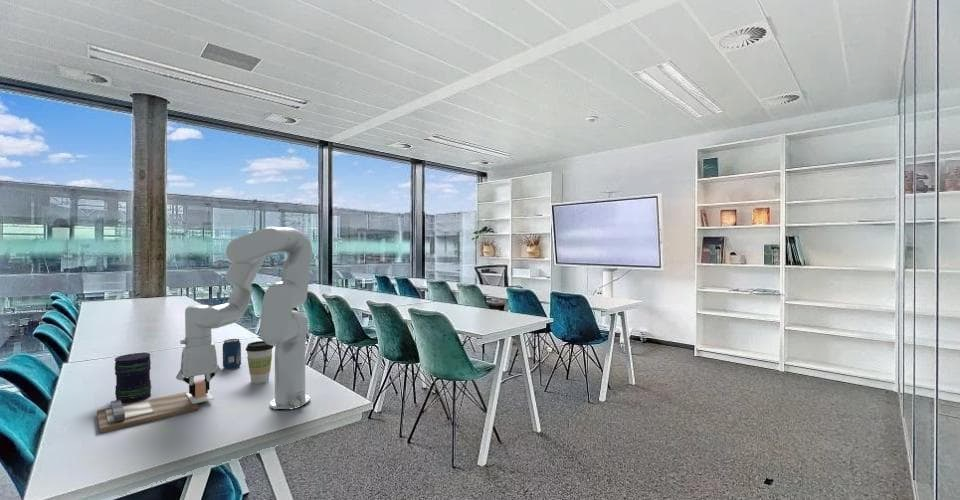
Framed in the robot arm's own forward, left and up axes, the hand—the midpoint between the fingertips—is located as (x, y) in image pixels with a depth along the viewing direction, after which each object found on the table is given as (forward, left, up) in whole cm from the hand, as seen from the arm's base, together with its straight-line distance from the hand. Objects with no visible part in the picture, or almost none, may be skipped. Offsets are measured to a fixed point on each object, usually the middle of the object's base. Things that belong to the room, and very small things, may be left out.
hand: (199, 393), depth 147 cm
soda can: (+36, -19, -3) cm, 41 cm away
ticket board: (0, +14, -3) cm, 14 cm away
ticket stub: (0, 0, -1) cm, 1 cm away
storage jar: (+19, +16, -3) cm, 25 cm away
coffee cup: (+8, -22, -3) cm, 23 cm away
